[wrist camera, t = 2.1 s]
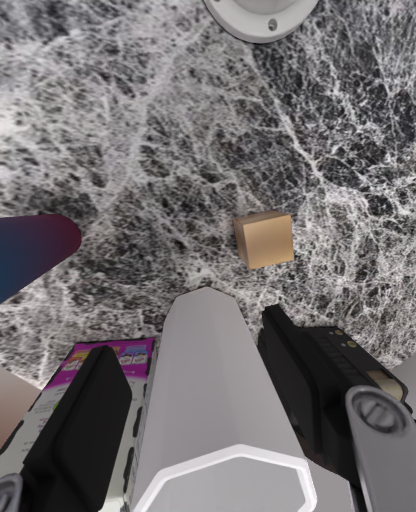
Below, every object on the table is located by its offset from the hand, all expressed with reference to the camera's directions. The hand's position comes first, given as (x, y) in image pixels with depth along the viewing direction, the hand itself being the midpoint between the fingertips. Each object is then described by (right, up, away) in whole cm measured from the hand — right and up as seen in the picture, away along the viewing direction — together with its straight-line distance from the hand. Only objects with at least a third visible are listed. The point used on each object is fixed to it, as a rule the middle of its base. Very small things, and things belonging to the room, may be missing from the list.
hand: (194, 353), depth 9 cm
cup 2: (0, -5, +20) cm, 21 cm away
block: (+7, +7, +17) cm, 20 cm away
